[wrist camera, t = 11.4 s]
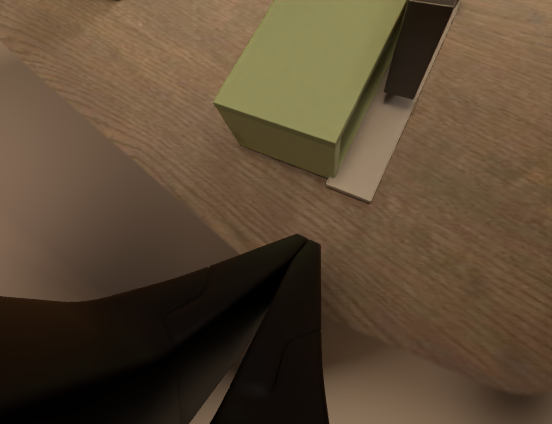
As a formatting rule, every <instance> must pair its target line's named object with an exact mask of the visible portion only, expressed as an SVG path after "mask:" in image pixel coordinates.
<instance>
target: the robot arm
mask: <svg viewBox="0 0 552 424" xmlns="http://www.w3.org/2000/svg"><path fill="white" fill-rule="evenodd" d="M255 333H256V334H255ZM254 335H255V336H254ZM253 336H254V338H253V340H252V342H251V344H250V346H249V348H248V350H247V352H246V354H245V356H244V358H243V361H242V362H241V364H240V367H239V369H238V371H237V373H236V375H235V377H234V379H233V381H232V383H231V385H230V388H229V389H228V391H227V393H226V395H225V397H224V399H223V401H222V403H221V405H220V407H219V408H218V410H217V412H216V414H215V415H214V417H213V419H212V421H211V422H210V424H329V419H328V412H327V404H326V396H325V388H324V379H323V369H322V348H321V245H320V244H319V243H317V242H314V241H312V240H308V239H307V238H306V237H304V236H301V235H299V234H295V235H292V236H289V237H287V238H284V239H281V240H279V241H276V242H273V243H270V244H268V245H265V246H262V247H260V248H257V249H254V250H252V251H249V252H246V253H244V254H241V255H238V256H236V257H233V258H230V259H228V260H225V261H222V262H220V263H217V264H214V265H211V266H210V267H209V268H208V267H206V268H203V269H201V270H198V271H195V272H192V273H189V274H186V275H183V276H180V277H177V278H174V279H171V280H167V281H164V282H160V283H157V284H153V285H149V286H146V287H143V288H138V289H135V290H131V291H127V292H124V293H120V294H116V295H112V296H109V297H105V298H100V299H96V300H90V301H81V302H60V301H48V300H37V299H26V298H14V297H13V298H12V297H2V296H0V424H189V423H190V422H191V420H192V419H193V417H194V416H195V415H196V413H197V412H198V411H199V409H200V408H201V406H202V405H203V404H204V403H205V401H206V400H207V399H208V397H209V396H210V394H211V393H212V392H213V390H214V389H215V388H216V386H217V385H218V384H219V382H220V381H221V380H222V378H223V377H224V375H225V374H226V373H227V371H228V370H229V369H230V367H231V366H232V365H233V363H234V362H235V360H236V359H237V358H238V356H239V355H240V354H241V352H242V351H243V350H244V348H245V347H246V346H247V344H248V343H249V341H250V340H251V339H252V337H253Z"/></svg>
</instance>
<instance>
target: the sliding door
mask: <svg viewBox="0 0 552 424" xmlns="http://www.w3.org/2000/svg"><path fill="white" fill-rule="evenodd" d="M457 1H458V0H408V2H407V6H406V10H405V13H404V17H403V21H402V25H401V28H400V32H399V36H398V39H397V43H396V47H395V50H394V54H393V58H392V61H391V65H390V69H389V73H388V76H387V80H386V84H385V87H384V93H388V94H392V95H396V96H400V97H404V98H408V99H411V100H413V99H414V98H415V95H416V93H417V91H418V89H419V87H420V84H421V82H422V80H423V78H424V75H425V73H426V71H427V69H428V66H429V64H430V62H431V60H432V57H433V55H434V53H435V51H436V48H437V46H438V44H439V42H440V39H441V37H442V35H443V33H444V30H445V28H446V26H447V24H448V21H449V19H450V17H451V15H452V12H453V10H454V8H455V6H456V3H457Z"/></svg>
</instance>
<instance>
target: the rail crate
mask: <svg viewBox="0 0 552 424" xmlns="http://www.w3.org/2000/svg"><path fill="white" fill-rule="evenodd" d="M458 1H459V0H458ZM458 1H457V3H456V6H455V8H454V10H453V12H452V15H451V17H450V19H449V21H448V24H447V26H446V28H445V30H444V33H443V35H442V37H441V39H440V42H439V44H438V46H437V48H436V51H435V53H434V55H433V57H432V60H431V62H430V64H429V66H428V69H427V71H426V73H425V75H424V78H423V80H422V82H421V84H420V87H419V89H418V91H417V93H416V95H415V98H414V99H413V100H411V99H408V98H404V97H400V96H396V95H392V94H388V93H384V87H385V84H386V80H387V76H388V73H389V69H390V65H391V61H392V58H393V54H394V50H395V47H396V43H397V39H398V36H399V32H400V28H401V25H402V21H403V17H404V13H405V10H406V6H407V2H408V0H274V1H273V3H272V5H271V6H270V8H269V10H268V11H267V13H266V15H265V16H264V18H263V20H262V21H261V23H260V25H259V26H258V28H257V30H256V31H255V33H254V35H253V36H252V38H251V39H250V41H249V43H248V44H247V46H246V48H245V49H244V51H243V53H242V54H241V56H240V58H239V59H238V61H237V63H236V64H235V66H234V68H233V69H232V71H231V73H230V74H229V76H228V78H227V79H226V81H225V82H224V84H223V86H222V87H221V89H220V91H219V92H218V94H217V96H216V97H215V99H214V101H213V103H214V105H215V107H216V108H217V110H218V111H219V113H220V114H221V116H222V117H223V119H224V121H225V122H226V124H227V125H228V127H229V128H230V130H231V132H232V133H233V135H234V136H235V138H236V139H237V141H238V142H239V144H240V145H242V146H244V147H247V148H249V149H252V150H255V151H257V152H260V153H262V154H265V155H268V156H270V157H273V158H276V159H278V160H281V161H283V162H286V163H289V164H291V165H294V166H296V167H299V168H302V169H304V170H307V171H310V172H312V173H315V174H317V175H320V176H323V177H325V178H328V180H327V182H326V187H328V188H331V189H333V190H336V191H338V192H341V193H343V194H346V195H349V196H351V197H354V198H356V199H359V200H361V201H364V202H366V203H369V204H370V203H371V200H372V198H373V196H374V194H375V192H376V189H377V187H378V185H379V183H380V181H381V178H382V176H383V174H384V172H385V169H386V167H387V165H388V163H389V161H390V158H391V156H392V154H393V152H394V150H395V147H396V145H397V143H398V141H399V138H400V136H401V134H402V132H403V130H404V127H405V125H406V123H407V121H408V118H409V116H410V114H411V112H412V110H413V107H414V105H415V103H416V101H417V99H418V96H419V94H420V92H421V90H422V87H423V85H424V83H425V81H426V79H427V76H428V74H429V72H430V70H431V67H432V65H433V63H434V61H435V59H436V56H437V54H438V52H439V50H440V48H441V45H442V43H443V41H444V39H445V36H446V34H447V32H448V30H449V28H450V25H451V23H452V21H453V19H454V17H455V14H456V12H457V10H458V8H459V5H460V3H458Z"/></svg>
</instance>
